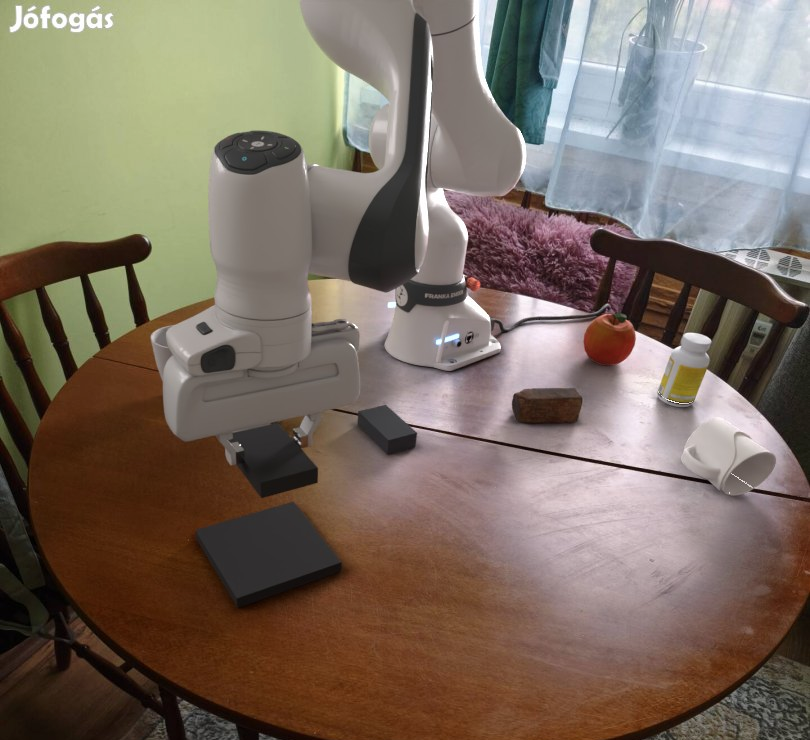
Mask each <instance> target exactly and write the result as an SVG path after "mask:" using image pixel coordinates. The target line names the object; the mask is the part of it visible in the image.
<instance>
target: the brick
mask: <svg viewBox="0 0 810 740" xmlns="http://www.w3.org/2000/svg"><path fill="white" fill-rule="evenodd" d="M583 403H584V397H583V396H582V395H581V393H580V392H579V390H578V389H577V388H576V387H537V388H536V387H535V388H534V387H533V388H523V389H522V390H520V391H518V392H515V393H514V394H513V396H512V399H511V409H512V414H513V416H514V419H515V421H516V422H519V423H523V424H567V423H576V422H578V420H579V418H580V413H581V411H582V406H583Z"/></svg>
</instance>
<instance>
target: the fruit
mask: <svg viewBox="0 0 810 740" xmlns="http://www.w3.org/2000/svg"><path fill="white" fill-rule="evenodd" d="M636 340H637V336H636V330H635V328H634V325H633V323H632V322H631V321H630V320H627V315H626V314H624V313H621V312H619V313H618V312H617V311H616V312H614V313H612V314H611V313H605V314H600V315H598V317H597V316H596V318H595V319H593V320H592V322H591V323H590V324H589V325H588V327H587V328H586V330H585V332H584V335H583V342H582V343H583V347H584V348H583V349H584V352H585V354H586V356H587V357H588V358H589V359H590V360H591V361H593V362H594V363H596V364H599V365H602V366H614V365H619V364H620V363H622V362H624V361H625V360H627V359H628V357H629V356H630V355H631V353H632V352H633V350H634V348H635V345H636Z"/></svg>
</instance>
